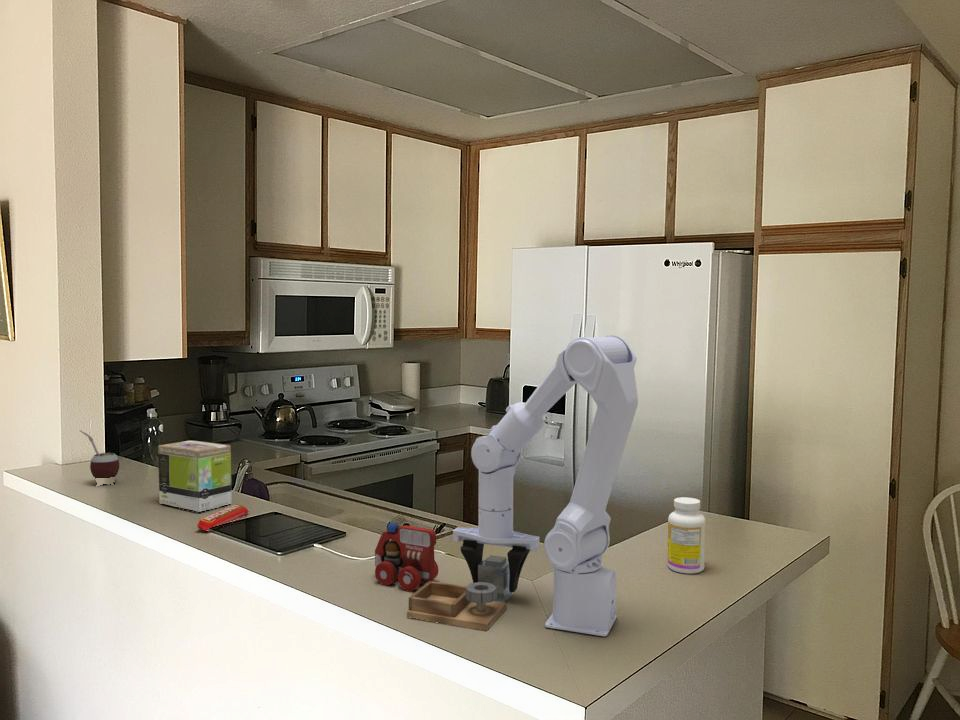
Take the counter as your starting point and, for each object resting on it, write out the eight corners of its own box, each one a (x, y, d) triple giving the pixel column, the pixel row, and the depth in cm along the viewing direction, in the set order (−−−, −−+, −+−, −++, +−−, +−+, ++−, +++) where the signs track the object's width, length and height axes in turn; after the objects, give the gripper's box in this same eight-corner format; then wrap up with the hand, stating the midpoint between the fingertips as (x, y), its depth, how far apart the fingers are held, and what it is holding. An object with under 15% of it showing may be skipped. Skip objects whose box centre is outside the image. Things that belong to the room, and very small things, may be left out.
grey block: (512, 594, 130) (512, 556, 130) (503, 604, 126) (503, 564, 126) (487, 591, 132) (487, 553, 132) (477, 600, 128) (477, 561, 127)
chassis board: (506, 608, 124) (506, 585, 124) (486, 630, 116) (486, 605, 116) (430, 597, 129) (431, 574, 129) (406, 617, 120) (406, 593, 120)
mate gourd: (125, 482, 210) (124, 427, 209) (102, 489, 202) (100, 432, 201) (104, 480, 212) (103, 425, 211) (80, 486, 205) (78, 430, 204)
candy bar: (208, 535, 164) (208, 521, 163) (193, 533, 165) (193, 520, 164) (251, 515, 179) (251, 502, 179) (237, 514, 180) (237, 501, 180)
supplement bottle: (679, 560, 148) (681, 493, 147) (711, 568, 143) (713, 500, 142) (660, 568, 143) (661, 500, 142) (692, 577, 139) (694, 506, 138)
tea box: (233, 505, 187) (232, 444, 186) (198, 514, 179) (196, 450, 178) (193, 496, 195) (191, 438, 194) (157, 505, 187) (156, 444, 186)
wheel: (500, 594, 122) (500, 584, 122) (490, 605, 118) (490, 594, 118) (472, 590, 124) (472, 580, 124) (461, 600, 119) (461, 590, 119)
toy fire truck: (390, 570, 142) (389, 514, 141) (446, 583, 136) (446, 524, 135) (365, 581, 136) (365, 523, 136) (423, 595, 130) (422, 534, 129)
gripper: (545, 505, 129) (544, 585, 130) (464, 497, 134) (463, 574, 135) (532, 516, 123) (531, 600, 124) (448, 507, 128) (447, 588, 129)
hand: (495, 587), depth 129 cm, fingers open, 6 cm apart
